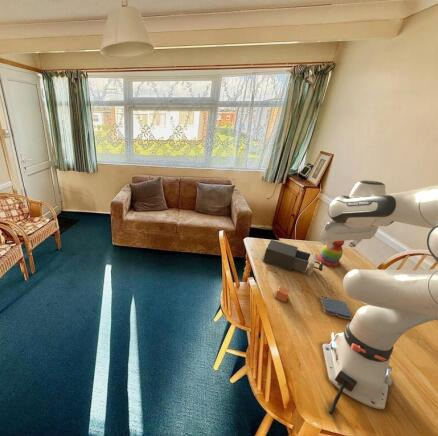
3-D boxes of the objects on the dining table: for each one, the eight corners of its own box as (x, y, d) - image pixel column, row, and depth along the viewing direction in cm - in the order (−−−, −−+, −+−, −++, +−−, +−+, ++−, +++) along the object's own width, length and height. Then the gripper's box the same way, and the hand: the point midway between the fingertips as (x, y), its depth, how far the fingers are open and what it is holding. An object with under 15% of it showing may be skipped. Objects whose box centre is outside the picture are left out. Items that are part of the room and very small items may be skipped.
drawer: (320, 268, 131) (325, 256, 127) (319, 278, 123) (324, 267, 119) (285, 257, 140) (289, 246, 137) (282, 266, 132) (285, 255, 129)
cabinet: (293, 260, 139) (298, 247, 135) (290, 271, 130) (294, 257, 126) (267, 252, 147) (271, 239, 143) (262, 261, 138) (266, 248, 134)
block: (285, 302, 109) (288, 295, 107) (275, 298, 111) (277, 291, 109) (287, 296, 112) (289, 289, 110) (277, 292, 115) (279, 285, 113)
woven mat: (345, 304, 108) (346, 301, 107) (352, 321, 99) (354, 318, 98) (318, 297, 112) (320, 294, 111) (323, 313, 103) (325, 310, 102)
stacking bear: (338, 260, 138) (349, 235, 131) (339, 269, 131) (351, 243, 123) (317, 255, 144) (326, 230, 136) (317, 263, 136) (327, 237, 128)
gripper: (334, 225, 87) (322, 253, 94) (386, 221, 88) (370, 250, 95) (322, 217, 93) (311, 244, 100) (371, 213, 93) (357, 241, 100)
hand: (340, 247), depth 97 cm, fingers open, 8 cm apart
